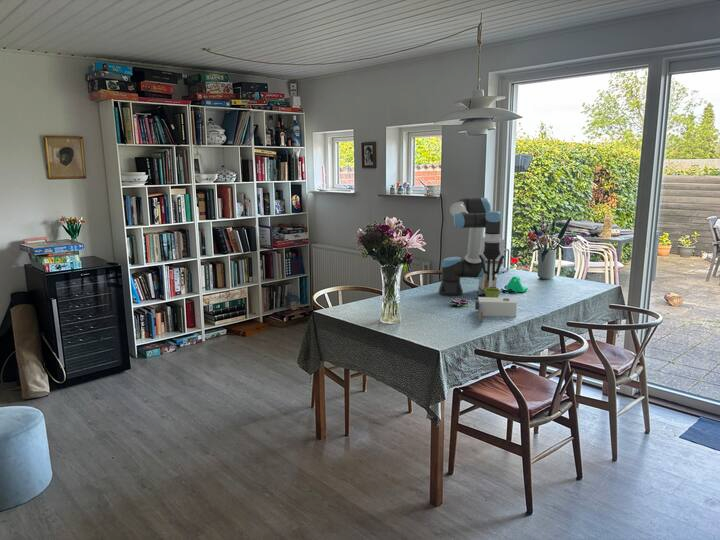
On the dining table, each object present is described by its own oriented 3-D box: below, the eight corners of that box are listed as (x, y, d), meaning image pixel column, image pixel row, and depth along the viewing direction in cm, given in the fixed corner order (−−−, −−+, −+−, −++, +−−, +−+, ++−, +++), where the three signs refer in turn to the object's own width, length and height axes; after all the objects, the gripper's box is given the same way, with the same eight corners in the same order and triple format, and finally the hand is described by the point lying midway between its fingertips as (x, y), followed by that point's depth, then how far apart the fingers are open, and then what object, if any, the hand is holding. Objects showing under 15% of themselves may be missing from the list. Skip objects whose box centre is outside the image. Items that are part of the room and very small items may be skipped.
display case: (482, 293, 345) (487, 239, 338) (478, 289, 355) (482, 236, 348) (500, 293, 346) (505, 239, 338) (495, 289, 356) (500, 237, 349)
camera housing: (475, 315, 299) (476, 300, 297) (474, 310, 309) (475, 295, 307) (515, 316, 296) (516, 301, 294) (513, 311, 306) (514, 296, 304)
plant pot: (493, 301, 328) (494, 287, 326) (503, 305, 319) (503, 291, 317) (480, 303, 324) (481, 289, 323) (489, 307, 316) (490, 292, 314)
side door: (477, 314, 299) (478, 303, 297) (481, 314, 298) (481, 303, 297) (479, 323, 282) (479, 312, 281) (483, 323, 282) (483, 312, 281)
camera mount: (528, 291, 351) (528, 276, 349) (522, 293, 345) (523, 278, 343) (511, 288, 359) (511, 273, 357) (505, 290, 354) (506, 275, 351)
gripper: (479, 242, 273) (477, 287, 278) (505, 243, 271) (503, 288, 276) (478, 240, 281) (477, 284, 285) (504, 240, 278) (502, 285, 283)
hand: (490, 286), depth 281 cm, fingers closed
